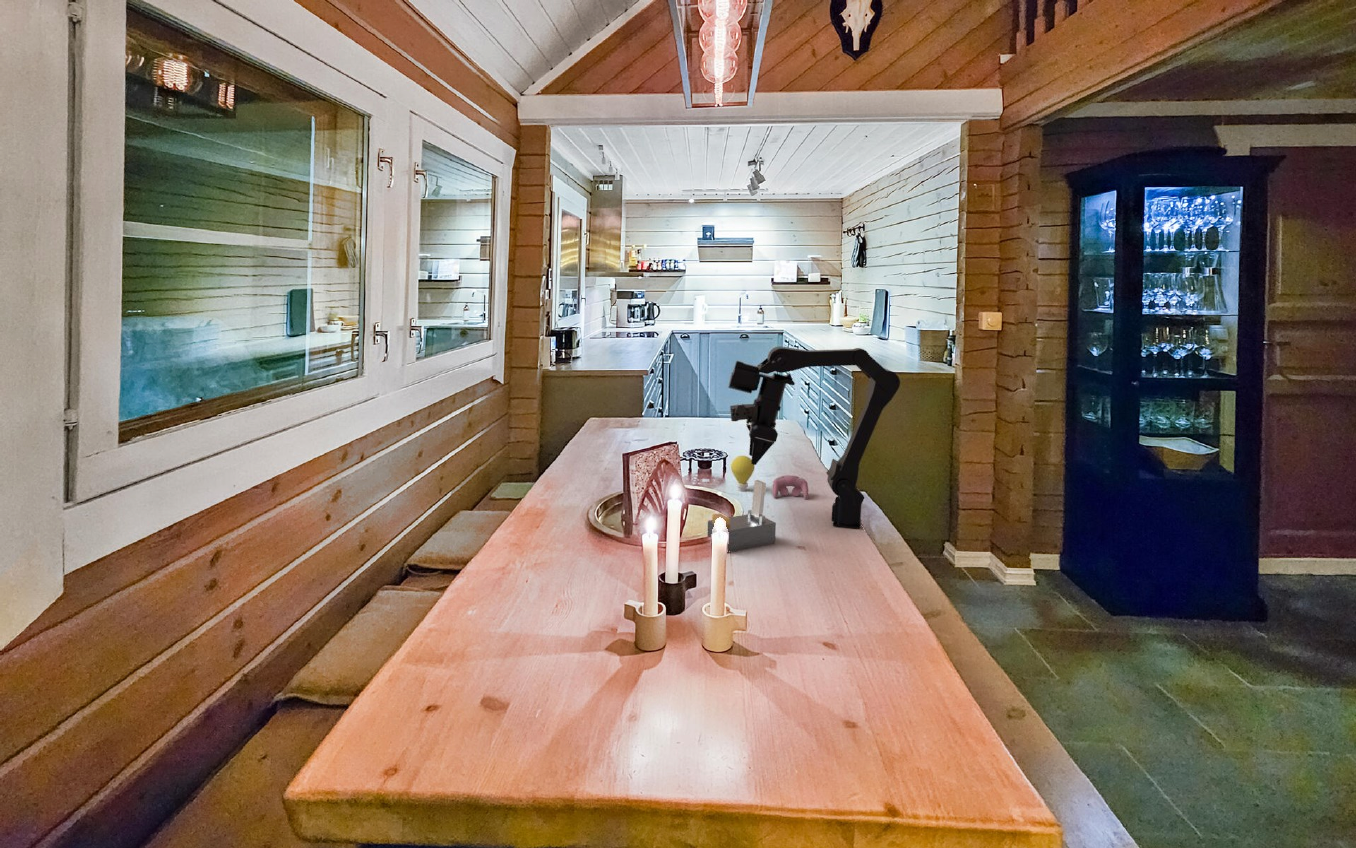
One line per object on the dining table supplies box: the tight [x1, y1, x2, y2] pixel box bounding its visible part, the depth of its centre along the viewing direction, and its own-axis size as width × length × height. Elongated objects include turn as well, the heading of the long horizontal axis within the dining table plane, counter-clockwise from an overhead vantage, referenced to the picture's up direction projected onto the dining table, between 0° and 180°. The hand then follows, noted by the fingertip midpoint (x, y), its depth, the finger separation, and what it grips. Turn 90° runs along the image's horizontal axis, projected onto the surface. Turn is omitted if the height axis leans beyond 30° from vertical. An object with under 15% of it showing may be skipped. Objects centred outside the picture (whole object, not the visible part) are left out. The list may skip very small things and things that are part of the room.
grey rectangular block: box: [707, 509, 777, 554], centre depth 167 cm, size 13×8×7 cm, turn 118°
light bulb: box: [730, 455, 755, 492], centre depth 211 cm, size 7×7×10 cm
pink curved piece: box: [771, 475, 809, 501], centre depth 205 cm, size 10×5×7 cm, turn 84°
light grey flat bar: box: [751, 479, 767, 519], centre depth 168 cm, size 8×3×1 cm
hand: (752, 459), depth 180 cm, fingers open, 9 cm apart
